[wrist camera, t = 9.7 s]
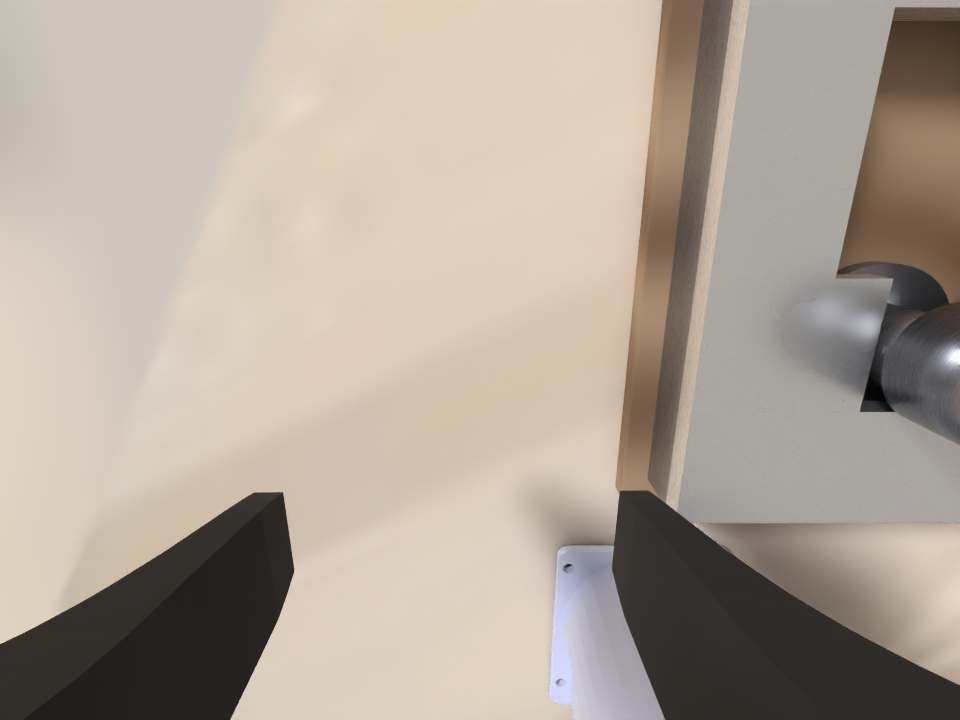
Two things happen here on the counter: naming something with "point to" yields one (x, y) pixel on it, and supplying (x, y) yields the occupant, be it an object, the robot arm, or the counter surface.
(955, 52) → the keyhole board
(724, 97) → the keyhole plate
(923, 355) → the dark grey knob
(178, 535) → the counter surface
